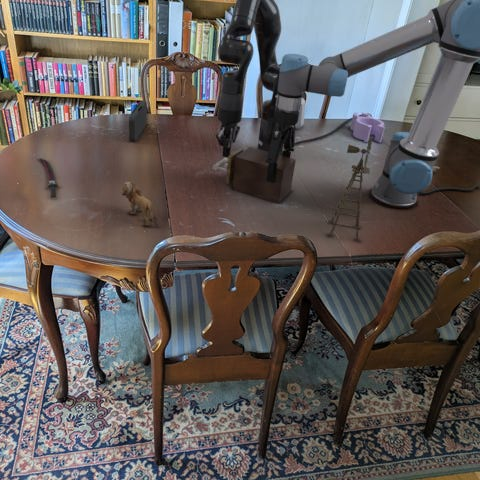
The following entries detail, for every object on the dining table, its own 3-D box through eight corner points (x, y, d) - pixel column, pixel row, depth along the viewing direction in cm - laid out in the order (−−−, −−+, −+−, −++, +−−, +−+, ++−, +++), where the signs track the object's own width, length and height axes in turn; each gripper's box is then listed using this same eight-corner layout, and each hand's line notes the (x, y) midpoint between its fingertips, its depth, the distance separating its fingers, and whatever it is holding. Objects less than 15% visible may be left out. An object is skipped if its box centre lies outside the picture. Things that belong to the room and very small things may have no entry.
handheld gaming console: (140, 122, 202) (140, 99, 196) (147, 123, 202) (146, 100, 196) (128, 141, 182) (127, 116, 177) (135, 142, 182) (134, 117, 177)
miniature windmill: (357, 241, 135) (384, 143, 119) (328, 236, 136) (351, 138, 120) (357, 226, 143) (382, 132, 127) (330, 221, 144) (351, 127, 128)
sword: (61, 197, 141) (61, 193, 140) (50, 198, 139) (50, 194, 139) (49, 160, 164) (48, 156, 163) (39, 160, 163) (39, 157, 162)
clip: (343, 126, 223) (346, 112, 219) (367, 127, 225) (371, 113, 221) (360, 142, 206) (364, 127, 202) (386, 142, 209) (390, 127, 205)
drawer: (211, 179, 159) (212, 152, 154) (224, 169, 167) (226, 143, 162) (267, 196, 152) (271, 168, 147) (278, 185, 160) (282, 159, 155)
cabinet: (232, 189, 157) (235, 156, 150) (246, 177, 165) (249, 146, 159) (278, 203, 151) (283, 170, 145) (290, 191, 159) (295, 159, 153)
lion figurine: (118, 210, 138) (116, 182, 133) (132, 204, 141) (131, 177, 137) (151, 229, 130) (150, 201, 126) (165, 223, 134) (165, 195, 129)
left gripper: (230, 99, 155) (225, 148, 165) (210, 107, 145) (206, 159, 154) (250, 104, 153) (244, 153, 162) (231, 113, 143) (226, 165, 152)
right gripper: (289, 98, 151) (280, 161, 163) (260, 115, 133) (252, 185, 145) (311, 103, 149) (300, 166, 160) (284, 121, 131) (274, 191, 142)
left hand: (226, 156), depth 158 cm, fingers closed
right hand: (277, 175), depth 153 cm, fingers closed on cabinet, 11 cm apart
